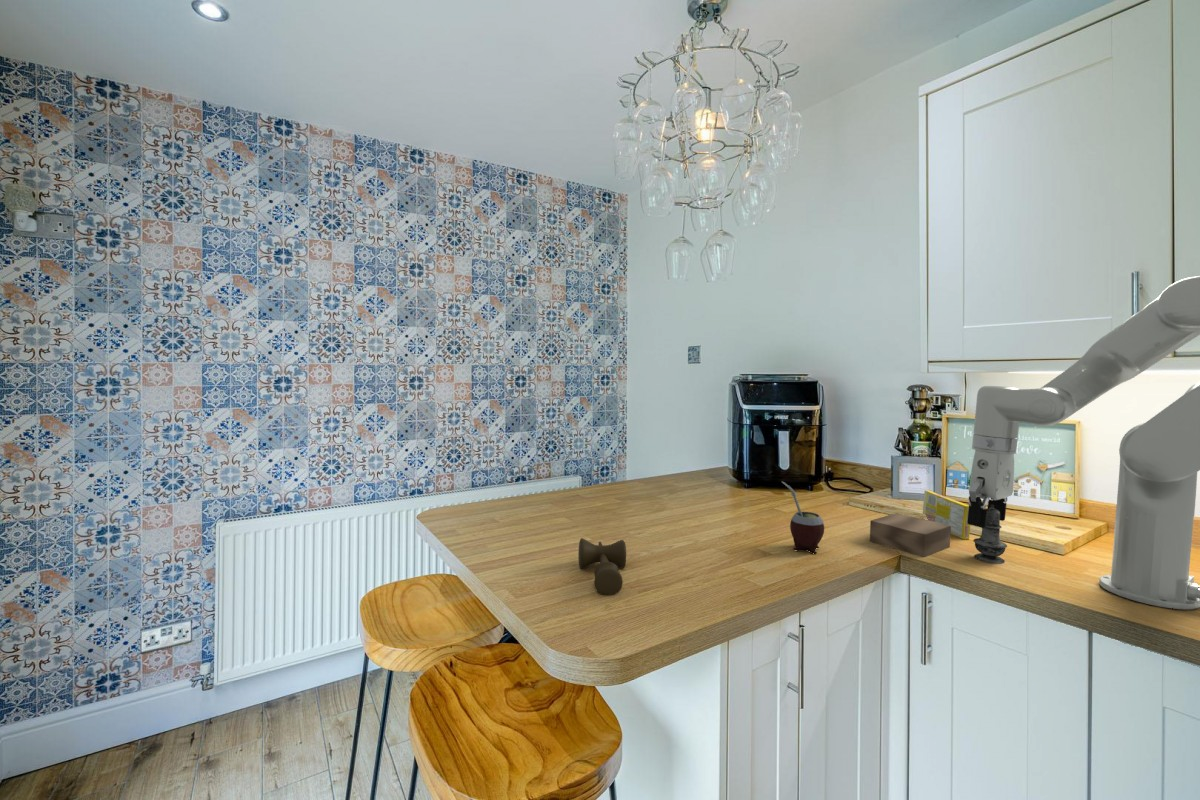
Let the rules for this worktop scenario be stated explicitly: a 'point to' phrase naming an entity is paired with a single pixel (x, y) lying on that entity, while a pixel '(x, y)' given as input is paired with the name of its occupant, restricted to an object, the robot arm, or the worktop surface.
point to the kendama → (604, 564)
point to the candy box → (947, 513)
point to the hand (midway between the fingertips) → (986, 522)
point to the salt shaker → (990, 539)
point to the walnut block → (910, 534)
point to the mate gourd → (805, 528)
